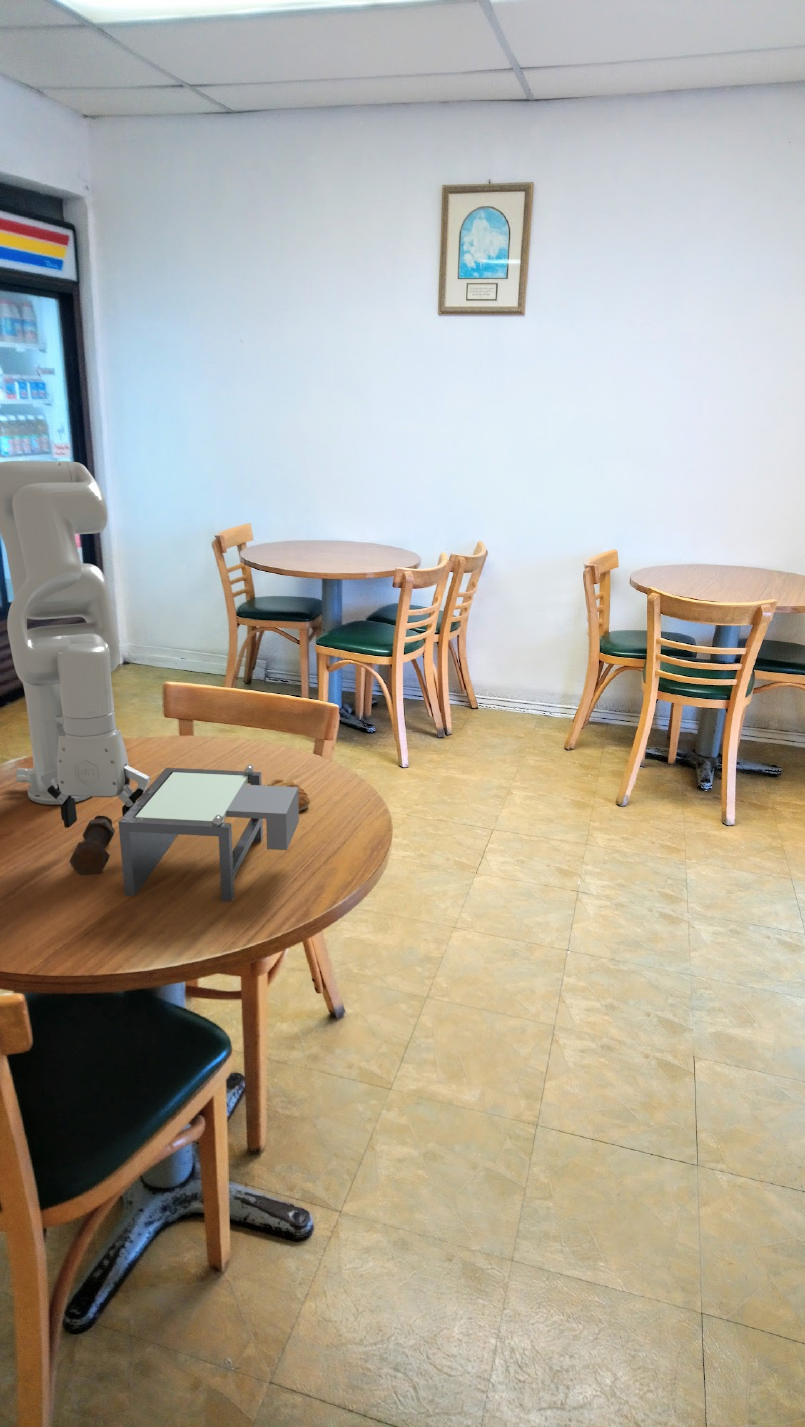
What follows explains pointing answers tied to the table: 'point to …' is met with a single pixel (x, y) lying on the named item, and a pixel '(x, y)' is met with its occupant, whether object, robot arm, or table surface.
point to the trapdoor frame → (155, 836)
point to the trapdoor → (226, 803)
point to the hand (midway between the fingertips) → (100, 825)
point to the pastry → (302, 795)
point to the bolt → (93, 847)
